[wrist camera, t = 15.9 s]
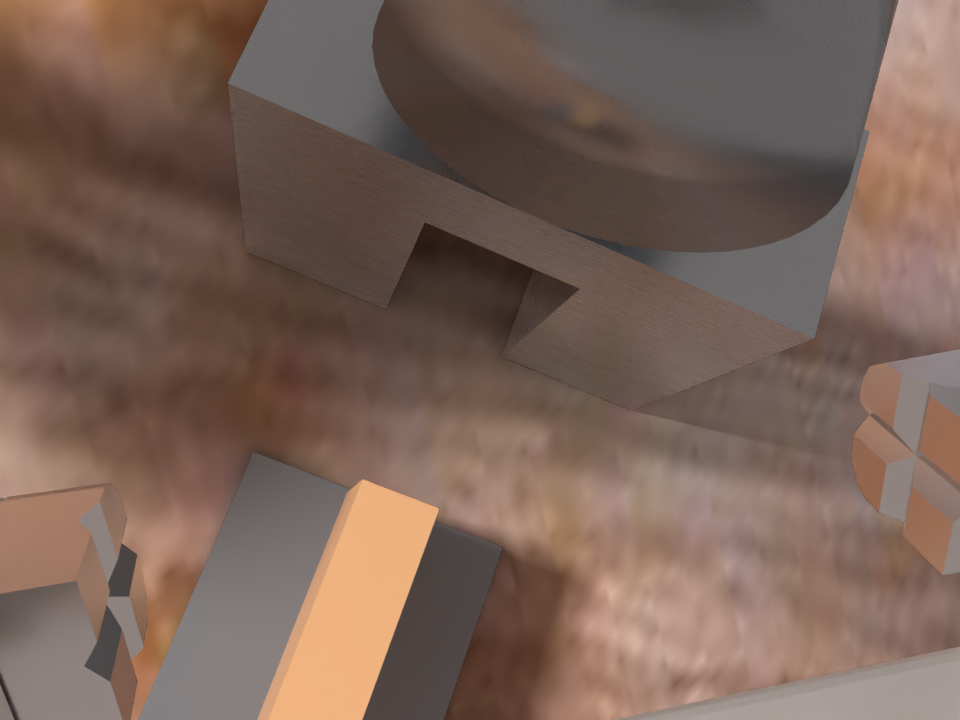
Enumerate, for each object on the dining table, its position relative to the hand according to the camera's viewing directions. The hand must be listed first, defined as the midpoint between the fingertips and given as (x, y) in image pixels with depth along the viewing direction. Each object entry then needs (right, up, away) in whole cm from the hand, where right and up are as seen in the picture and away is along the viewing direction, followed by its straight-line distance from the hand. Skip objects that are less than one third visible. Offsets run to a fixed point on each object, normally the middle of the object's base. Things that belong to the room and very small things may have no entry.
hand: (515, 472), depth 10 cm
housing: (-1, +6, +35) cm, 35 cm away
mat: (-7, -11, +30) cm, 33 cm away
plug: (-7, -11, +30) cm, 32 cm away
